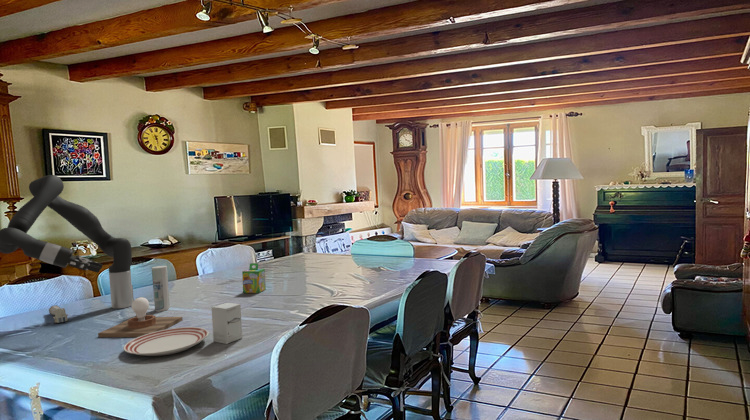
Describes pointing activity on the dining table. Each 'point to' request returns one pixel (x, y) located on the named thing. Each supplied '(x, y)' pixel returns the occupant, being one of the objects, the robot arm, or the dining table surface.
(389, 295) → the dining table surface
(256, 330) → the dining table surface
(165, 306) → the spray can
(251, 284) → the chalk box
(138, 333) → the holder board
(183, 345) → the dinner plate
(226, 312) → the supplement box
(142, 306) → the lightbulb
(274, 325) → the dining table surface
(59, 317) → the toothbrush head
